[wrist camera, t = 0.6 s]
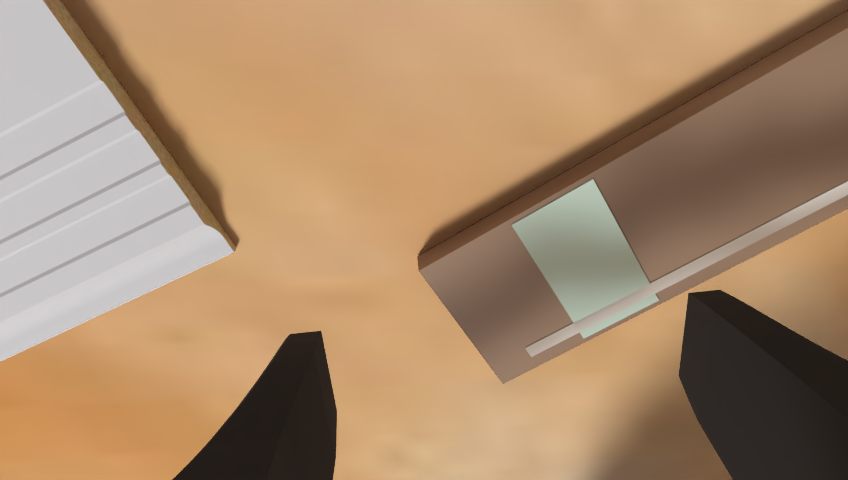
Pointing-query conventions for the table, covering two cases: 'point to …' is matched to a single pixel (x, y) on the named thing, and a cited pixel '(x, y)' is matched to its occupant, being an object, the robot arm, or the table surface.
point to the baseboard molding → (82, 186)
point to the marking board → (655, 209)
